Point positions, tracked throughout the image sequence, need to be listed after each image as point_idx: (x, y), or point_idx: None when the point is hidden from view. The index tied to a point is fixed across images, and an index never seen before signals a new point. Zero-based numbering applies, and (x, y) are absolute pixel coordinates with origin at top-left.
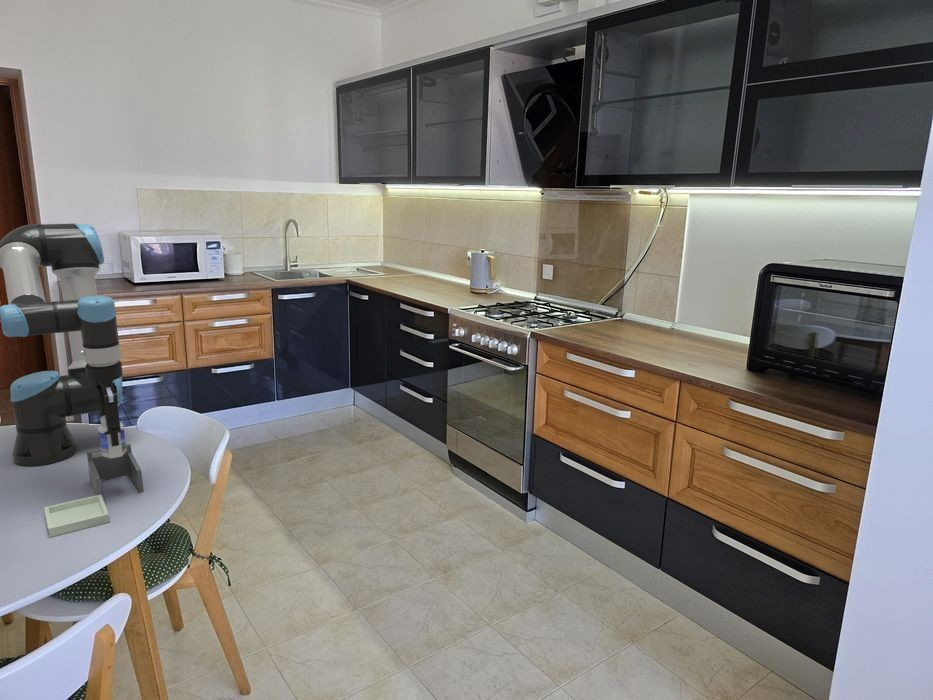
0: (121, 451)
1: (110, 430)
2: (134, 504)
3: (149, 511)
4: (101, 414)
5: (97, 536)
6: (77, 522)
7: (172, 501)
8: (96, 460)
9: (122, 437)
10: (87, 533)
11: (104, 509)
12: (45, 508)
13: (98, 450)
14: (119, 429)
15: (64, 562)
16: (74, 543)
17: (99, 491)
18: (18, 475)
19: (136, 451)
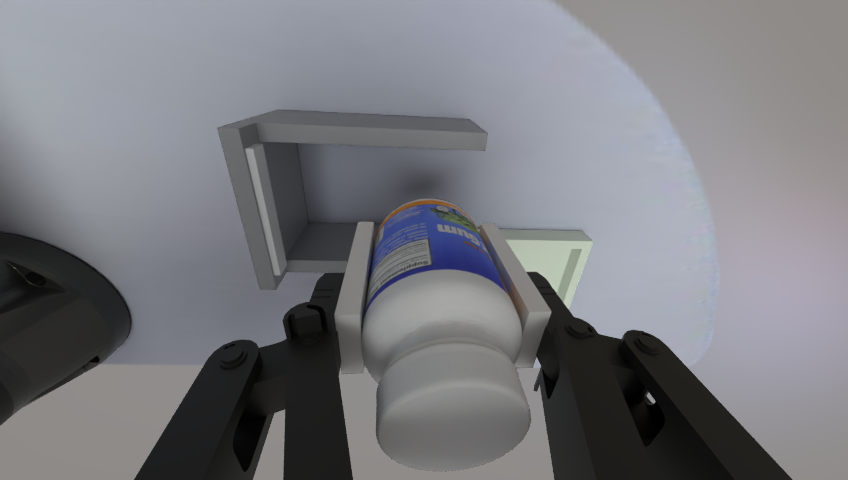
0: (502, 237)
1: (646, 402)
2: (534, 162)
3: (610, 137)
4: (266, 434)
5: (623, 259)
6: (572, 295)
7: (608, 53)
8: (283, 247)
9: (487, 257)
10: (593, 272)
11: (560, 245)
12: None
13: (258, 255)
14: (669, 358)
15: (663, 312)
16: (612, 294)
17: None
18: (187, 350)
19: (40, 44)
